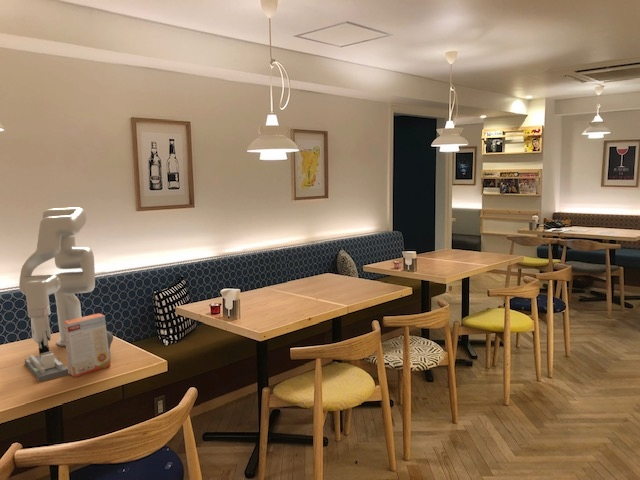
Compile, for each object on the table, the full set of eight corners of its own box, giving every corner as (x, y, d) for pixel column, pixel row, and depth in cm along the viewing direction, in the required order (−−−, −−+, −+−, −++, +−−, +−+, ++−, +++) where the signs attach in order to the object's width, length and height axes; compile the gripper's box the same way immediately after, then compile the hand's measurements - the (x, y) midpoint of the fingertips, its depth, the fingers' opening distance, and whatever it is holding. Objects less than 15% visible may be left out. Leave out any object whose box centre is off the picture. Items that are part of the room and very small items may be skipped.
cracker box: (105, 363, 210) (99, 312, 207) (111, 367, 206) (105, 315, 203) (68, 373, 201) (62, 320, 198) (73, 377, 197) (67, 323, 193)
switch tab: (52, 364, 205) (50, 349, 204) (55, 366, 202) (53, 352, 201) (41, 366, 203) (40, 352, 202) (44, 369, 200) (42, 355, 199)
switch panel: (52, 357, 218) (51, 348, 218) (68, 374, 200) (67, 364, 200) (25, 364, 212) (24, 354, 211) (39, 381, 194) (38, 372, 193)
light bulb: (96, 356, 217) (93, 333, 216) (104, 351, 223) (102, 328, 222) (109, 357, 216) (107, 333, 215) (117, 351, 222) (115, 329, 221)
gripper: (24, 309, 205) (29, 354, 208) (32, 318, 194) (38, 365, 197) (45, 305, 210) (50, 349, 213) (54, 313, 198) (60, 359, 201)
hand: (44, 357), depth 205 cm, fingers closed
